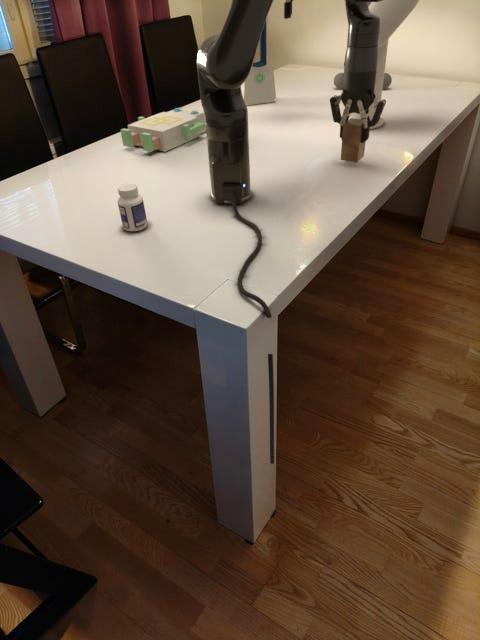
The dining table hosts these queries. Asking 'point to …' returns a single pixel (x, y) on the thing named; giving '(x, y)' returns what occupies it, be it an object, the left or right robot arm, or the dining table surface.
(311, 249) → the dining table surface
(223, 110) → the left robot arm
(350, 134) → the block
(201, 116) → the decorative block
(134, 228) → the pill bottle
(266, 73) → the electronic device
